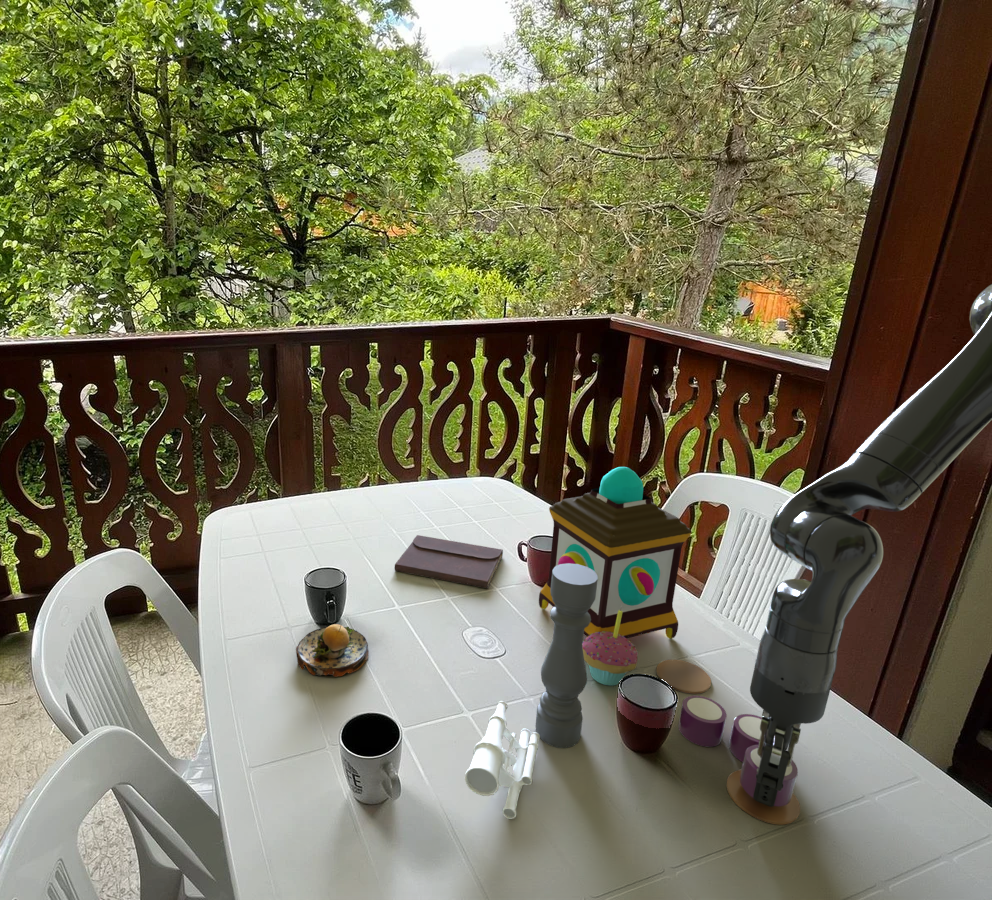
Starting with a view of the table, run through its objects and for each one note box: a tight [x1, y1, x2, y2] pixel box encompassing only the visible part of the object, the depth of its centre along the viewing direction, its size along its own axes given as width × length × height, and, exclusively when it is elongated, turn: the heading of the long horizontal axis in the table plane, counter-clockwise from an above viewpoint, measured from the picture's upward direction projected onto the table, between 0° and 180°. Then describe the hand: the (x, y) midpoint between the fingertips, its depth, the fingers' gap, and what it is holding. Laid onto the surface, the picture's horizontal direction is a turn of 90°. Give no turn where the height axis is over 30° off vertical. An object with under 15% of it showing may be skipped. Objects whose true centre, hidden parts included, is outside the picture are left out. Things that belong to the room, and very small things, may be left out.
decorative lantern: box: [538, 466, 692, 639], centre depth 111 cm, size 20×20×30 cm
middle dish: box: [728, 713, 762, 763], centre depth 85 cm, size 6×6×4 cm
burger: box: [295, 623, 370, 678], centre depth 105 cm, size 12×12×8 cm
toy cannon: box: [464, 700, 541, 820], centre depth 82 cm, size 8×14×5 cm
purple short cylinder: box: [740, 745, 799, 806], centre depth 78 cm, size 6×6×4 cm
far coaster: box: [655, 658, 712, 695], centre depth 101 cm, size 8×8×1 cm
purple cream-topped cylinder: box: [677, 695, 728, 748], centre depth 89 cm, size 6×6×4 cm
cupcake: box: [582, 606, 639, 686], centre depth 99 cm, size 9×8×12 cm
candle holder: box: [534, 563, 598, 749], centre depth 86 cm, size 6×6×25 cm
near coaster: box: [726, 769, 801, 826], centre depth 79 cm, size 8×8×1 cm
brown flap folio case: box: [394, 534, 504, 589], centre depth 136 cm, size 15×20×2 cm
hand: (766, 784), depth 78 cm, fingers closed on purple short cylinder, 5 cm apart
